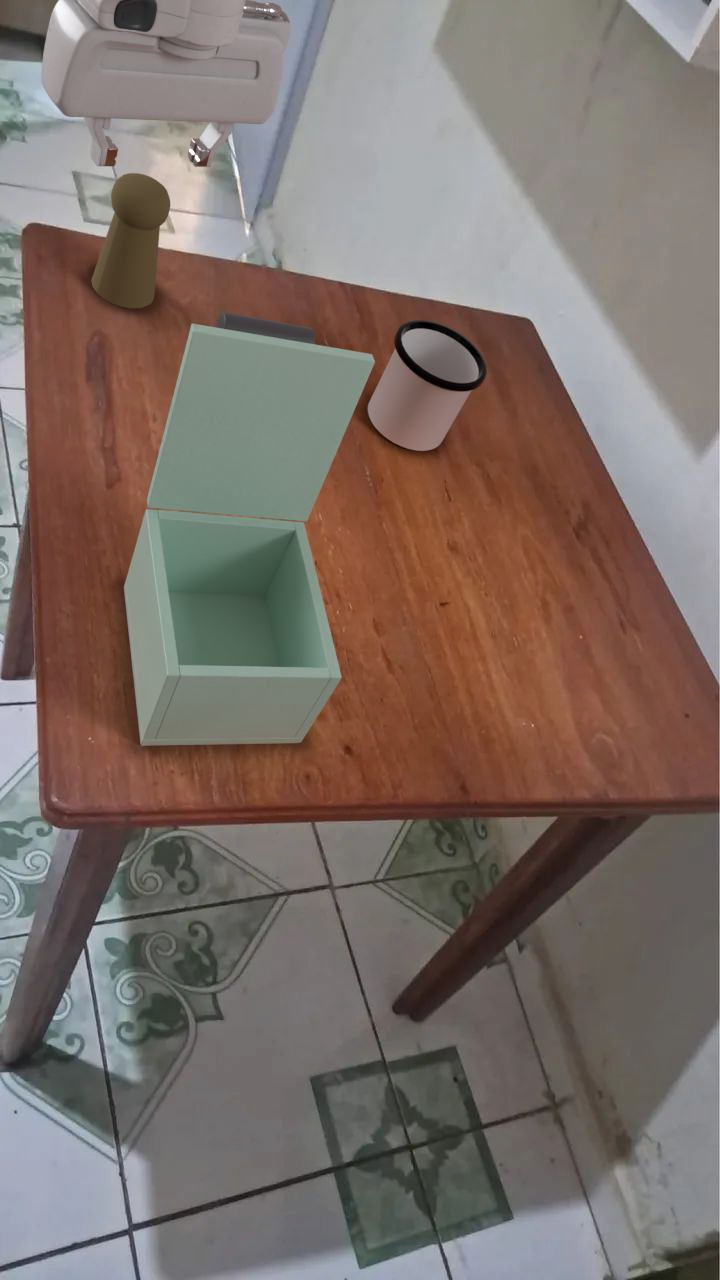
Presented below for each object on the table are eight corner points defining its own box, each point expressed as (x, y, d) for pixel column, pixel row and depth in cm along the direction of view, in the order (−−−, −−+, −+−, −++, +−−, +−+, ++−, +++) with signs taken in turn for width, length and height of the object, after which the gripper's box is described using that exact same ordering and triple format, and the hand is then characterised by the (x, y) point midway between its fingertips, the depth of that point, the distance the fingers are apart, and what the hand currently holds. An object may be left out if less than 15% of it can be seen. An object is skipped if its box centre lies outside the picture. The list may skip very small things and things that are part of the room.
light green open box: (300, 743, 69) (342, 677, 63) (140, 746, 64) (167, 675, 58) (269, 594, 76) (304, 522, 70) (123, 587, 72) (145, 508, 65)
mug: (396, 464, 92) (435, 392, 85) (343, 397, 95) (377, 323, 88) (481, 444, 99) (523, 377, 92) (430, 382, 102) (467, 313, 95)
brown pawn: (143, 269, 95) (166, 166, 87) (162, 309, 93) (187, 207, 85) (83, 266, 92) (101, 159, 84) (101, 307, 90) (121, 200, 82)
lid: (375, 361, 59) (356, 313, 62) (193, 330, 55) (181, 279, 58) (307, 522, 69) (293, 473, 72) (147, 508, 65) (139, 456, 68)
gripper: (276, -15, 80) (234, 143, 90) (42, -48, 68) (25, 138, 78) (315, 27, 78) (268, 184, 88) (81, 1, 66) (58, 185, 76)
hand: (152, 163), depth 83 cm, fingers open, 8 cm apart
